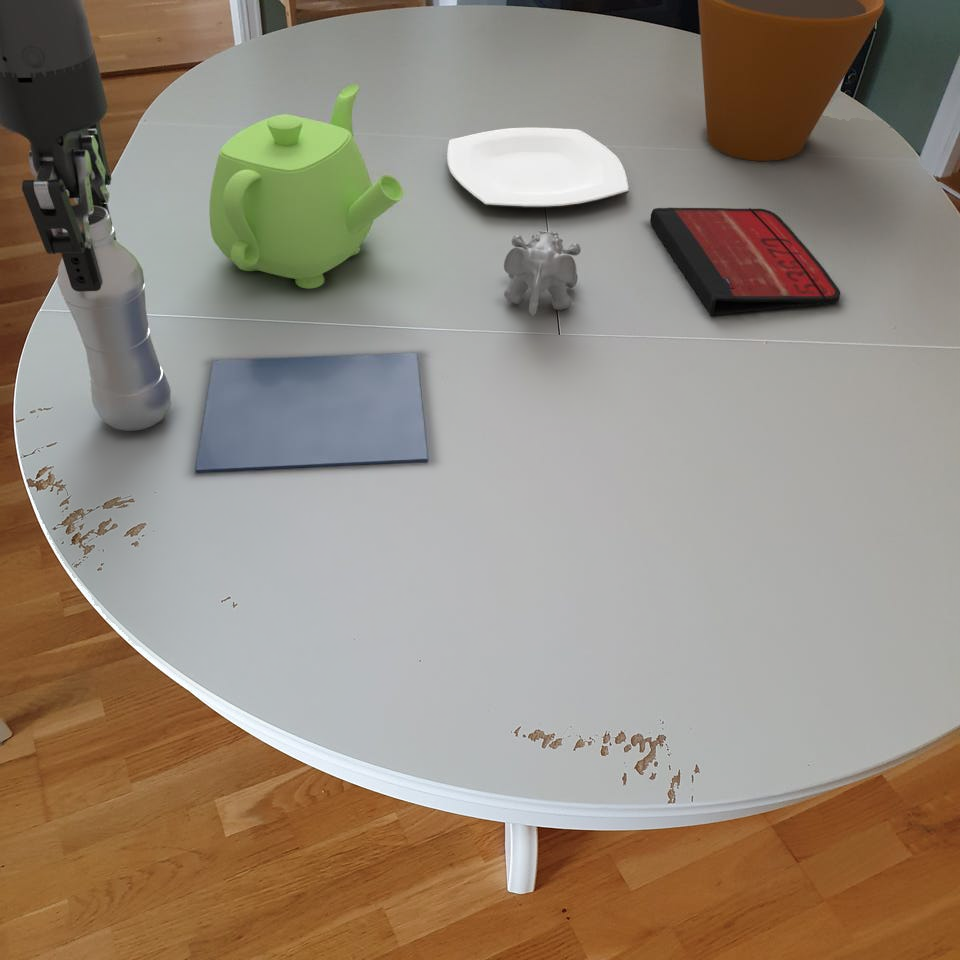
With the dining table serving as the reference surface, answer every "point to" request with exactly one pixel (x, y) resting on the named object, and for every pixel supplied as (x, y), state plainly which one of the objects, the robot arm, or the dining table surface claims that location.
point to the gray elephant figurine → (541, 269)
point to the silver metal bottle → (117, 335)
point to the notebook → (742, 259)
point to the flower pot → (775, 68)
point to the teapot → (296, 195)
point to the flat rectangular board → (312, 412)
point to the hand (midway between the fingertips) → (95, 267)
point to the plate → (535, 167)
